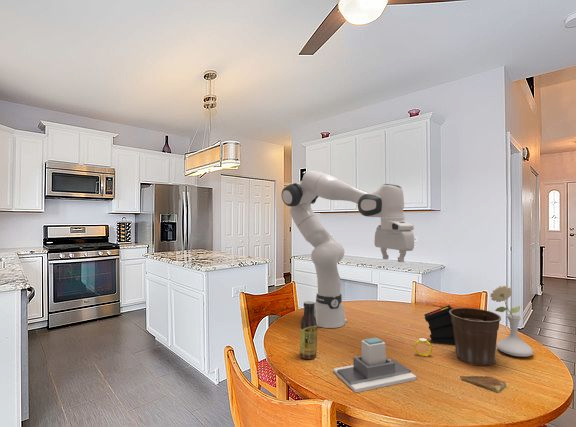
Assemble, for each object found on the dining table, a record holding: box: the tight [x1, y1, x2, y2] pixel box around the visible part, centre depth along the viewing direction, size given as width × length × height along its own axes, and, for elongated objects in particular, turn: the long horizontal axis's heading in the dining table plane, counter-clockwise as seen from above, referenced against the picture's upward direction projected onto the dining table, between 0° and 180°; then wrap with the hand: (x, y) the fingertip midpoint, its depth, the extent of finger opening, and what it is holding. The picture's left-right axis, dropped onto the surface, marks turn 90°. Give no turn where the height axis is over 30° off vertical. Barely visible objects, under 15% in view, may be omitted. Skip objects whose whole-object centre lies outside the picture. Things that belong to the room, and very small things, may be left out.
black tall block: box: [424, 304, 455, 346], centre depth 133 cm, size 4×13×15 cm, turn 74°
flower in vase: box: [490, 285, 534, 358], centre depth 123 cm, size 13×11×25 cm
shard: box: [459, 375, 507, 393], centre depth 101 cm, size 11×8×2 cm
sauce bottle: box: [299, 300, 318, 360], centre depth 121 cm, size 6×6×20 cm
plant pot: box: [449, 307, 502, 367], centre depth 118 cm, size 16×16×16 cm
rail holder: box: [332, 355, 418, 394], centre depth 106 cm, size 14×22×5 cm, turn 109°
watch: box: [414, 337, 433, 357], centre depth 121 cm, size 6×3×6 cm, turn 73°
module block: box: [360, 337, 387, 366], centre depth 106 cm, size 4×6×10 cm
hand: (392, 260), depth 128 cm, fingers open, 8 cm apart
